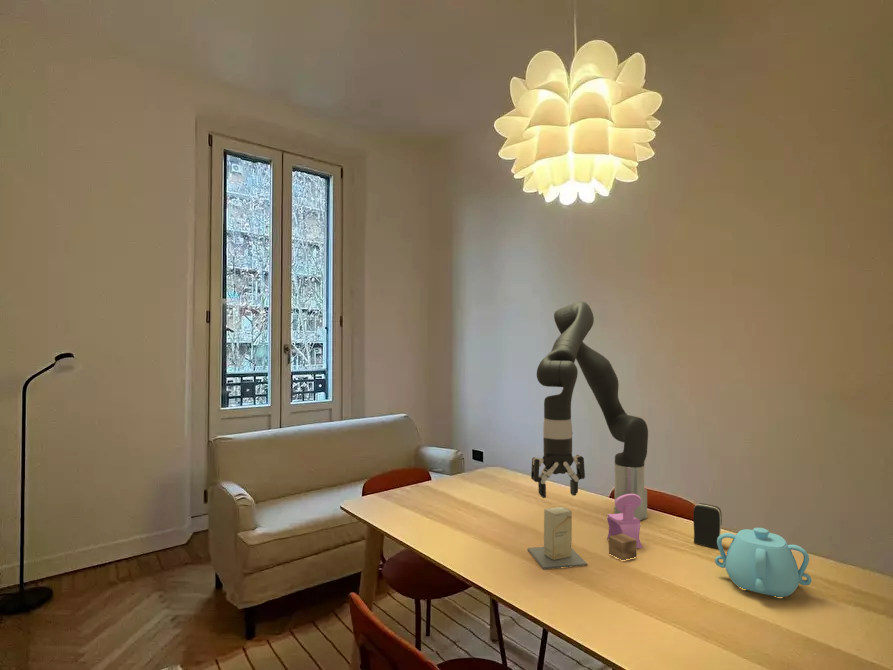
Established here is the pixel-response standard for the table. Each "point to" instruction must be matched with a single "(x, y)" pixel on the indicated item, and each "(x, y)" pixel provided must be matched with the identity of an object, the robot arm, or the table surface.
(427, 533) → the table surface
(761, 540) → the decorative pot
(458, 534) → the table surface
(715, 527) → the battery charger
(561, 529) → the skincare box
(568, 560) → the coaster
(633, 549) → the walnut block
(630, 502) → the toy chair
